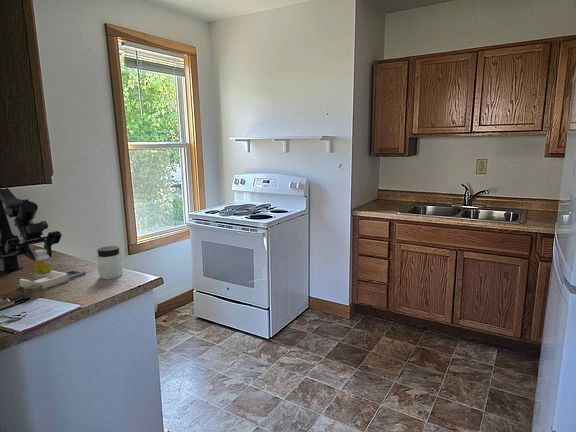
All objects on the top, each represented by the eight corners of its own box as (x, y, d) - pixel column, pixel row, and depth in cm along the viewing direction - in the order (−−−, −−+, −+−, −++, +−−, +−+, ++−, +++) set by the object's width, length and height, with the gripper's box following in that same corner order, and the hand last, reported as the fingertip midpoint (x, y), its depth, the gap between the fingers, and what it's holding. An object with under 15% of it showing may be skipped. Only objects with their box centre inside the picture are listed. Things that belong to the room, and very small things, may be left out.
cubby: (20, 286, 143) (19, 279, 143) (51, 276, 154) (50, 270, 154) (39, 291, 138) (37, 283, 138) (69, 280, 149) (68, 273, 148)
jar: (100, 280, 148) (97, 252, 146) (98, 275, 155) (95, 248, 153) (124, 276, 153) (121, 248, 151) (121, 271, 160) (118, 244, 158)
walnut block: (25, 299, 131) (23, 288, 131) (33, 294, 135) (31, 284, 135) (35, 299, 131) (33, 288, 130) (43, 295, 135) (42, 284, 134)
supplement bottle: (32, 275, 144) (28, 251, 142) (44, 271, 149) (41, 248, 147) (42, 276, 142) (39, 252, 141) (54, 272, 147) (51, 249, 146)
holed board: (55, 277, 153) (55, 275, 153) (73, 271, 160) (73, 269, 160) (67, 280, 149) (67, 277, 149) (85, 274, 156) (85, 271, 156)
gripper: (2, 219, 136) (19, 252, 132) (56, 211, 151) (73, 241, 147) (-3, 237, 142) (13, 269, 138) (50, 228, 157) (66, 256, 153)
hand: (42, 258), depth 144 cm, fingers closed on supplement bottle, 5 cm apart
